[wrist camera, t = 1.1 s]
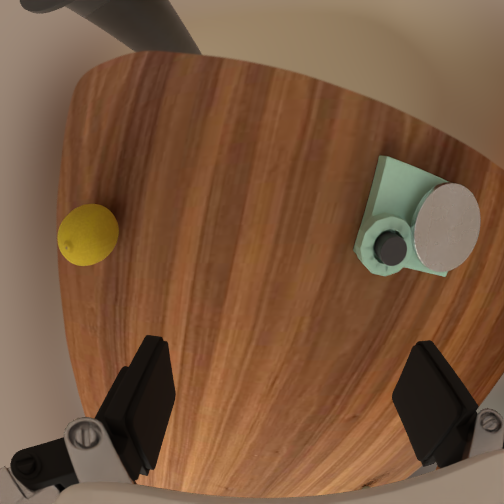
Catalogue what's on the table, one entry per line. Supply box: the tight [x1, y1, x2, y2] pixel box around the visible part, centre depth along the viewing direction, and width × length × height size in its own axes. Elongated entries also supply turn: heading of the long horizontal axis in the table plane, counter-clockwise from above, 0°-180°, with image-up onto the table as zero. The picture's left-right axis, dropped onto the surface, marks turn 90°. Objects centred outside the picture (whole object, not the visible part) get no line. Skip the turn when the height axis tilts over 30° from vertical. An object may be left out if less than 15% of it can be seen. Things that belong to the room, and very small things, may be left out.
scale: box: [353, 155, 473, 277], centre depth 26 cm, size 13×11×4 cm
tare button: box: [374, 232, 407, 266], centre depth 24 cm, size 3×3×2 cm
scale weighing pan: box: [411, 182, 480, 272], centre depth 24 cm, size 9×9×1 cm
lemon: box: [58, 204, 119, 266], centre depth 24 cm, size 6×6×8 cm
